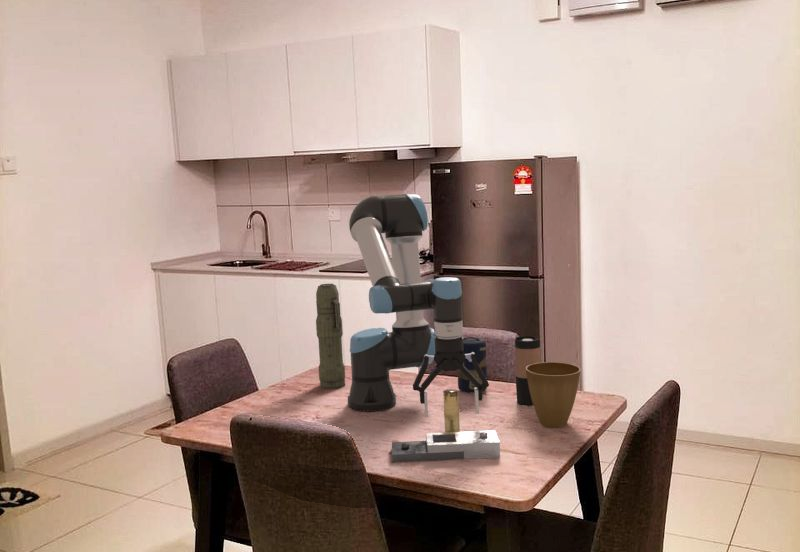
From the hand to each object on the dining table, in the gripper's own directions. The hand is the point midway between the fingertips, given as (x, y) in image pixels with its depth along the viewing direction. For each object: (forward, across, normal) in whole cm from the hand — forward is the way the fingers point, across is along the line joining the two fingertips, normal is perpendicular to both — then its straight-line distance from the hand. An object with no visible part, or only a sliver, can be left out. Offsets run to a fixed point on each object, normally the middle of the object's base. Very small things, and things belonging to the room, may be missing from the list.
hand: (451, 413), depth 211 cm
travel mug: (+7, +26, +28) cm, 39 cm away
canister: (+7, +10, +44) cm, 45 cm away
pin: (+7, 0, 0) cm, 7 cm away
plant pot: (+7, +29, +8) cm, 31 cm away
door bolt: (+7, -3, -11) cm, 13 cm away
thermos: (+7, -37, +58) cm, 69 cm away
